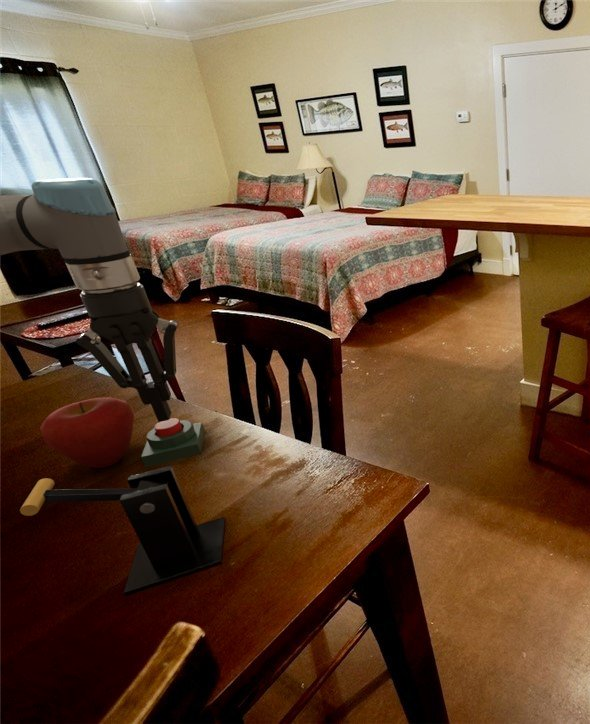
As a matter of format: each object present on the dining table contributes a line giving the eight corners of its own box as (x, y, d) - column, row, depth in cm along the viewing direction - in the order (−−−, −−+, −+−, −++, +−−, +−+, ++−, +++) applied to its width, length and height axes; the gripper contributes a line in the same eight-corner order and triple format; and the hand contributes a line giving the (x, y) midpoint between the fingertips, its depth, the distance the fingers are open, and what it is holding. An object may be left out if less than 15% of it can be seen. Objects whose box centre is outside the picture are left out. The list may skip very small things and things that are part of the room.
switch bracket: (127, 599, 57) (82, 520, 52) (142, 548, 65) (104, 473, 59) (223, 567, 62) (191, 491, 56) (227, 522, 69) (199, 451, 63)
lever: (19, 520, 51) (19, 501, 50) (36, 492, 55) (37, 474, 54) (162, 513, 58) (164, 497, 57) (168, 489, 61) (170, 473, 61)
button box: (145, 467, 80) (136, 448, 79) (153, 443, 87) (146, 425, 85) (201, 454, 84) (194, 435, 82) (205, 431, 90) (198, 413, 88)
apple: (154, 437, 88) (129, 380, 83) (140, 470, 80) (112, 409, 75) (78, 453, 84) (47, 394, 79) (54, 489, 75) (18, 426, 70)
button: (156, 439, 82) (152, 431, 81) (159, 429, 84) (156, 421, 84) (181, 434, 83) (177, 425, 82) (183, 424, 86) (180, 416, 85)
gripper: (45, 299, 66) (112, 438, 77) (158, 286, 72) (207, 417, 82) (63, 286, 72) (123, 416, 83) (166, 275, 78) (210, 398, 88)
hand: (165, 417), depth 82 cm, fingers closed
